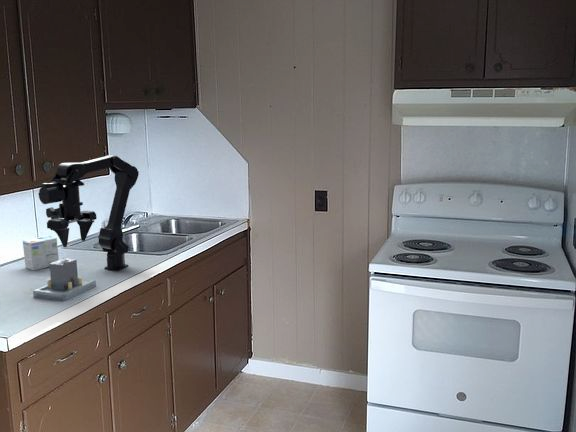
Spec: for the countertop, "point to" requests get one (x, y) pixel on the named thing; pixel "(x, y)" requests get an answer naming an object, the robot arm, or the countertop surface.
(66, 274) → the block
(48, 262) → the light bulb box
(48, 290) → the dock
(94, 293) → the countertop surface
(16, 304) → the countertop surface
